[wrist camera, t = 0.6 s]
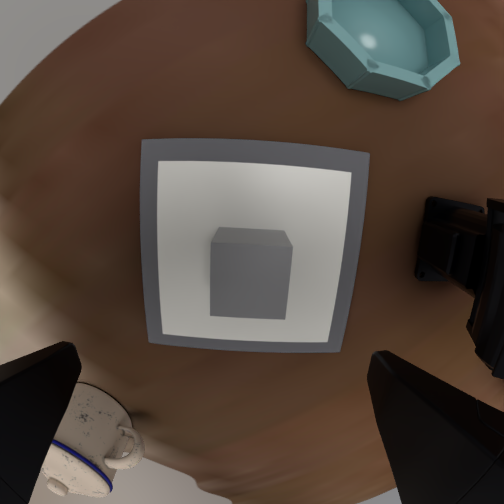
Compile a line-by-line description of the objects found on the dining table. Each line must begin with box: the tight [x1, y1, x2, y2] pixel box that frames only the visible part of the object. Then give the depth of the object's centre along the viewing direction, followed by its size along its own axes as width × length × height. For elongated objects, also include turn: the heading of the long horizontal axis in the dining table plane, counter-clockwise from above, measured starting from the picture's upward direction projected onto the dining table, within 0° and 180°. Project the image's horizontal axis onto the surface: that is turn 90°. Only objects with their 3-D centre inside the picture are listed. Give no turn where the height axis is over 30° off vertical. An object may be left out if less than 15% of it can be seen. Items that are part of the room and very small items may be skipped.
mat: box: [140, 138, 370, 353], centre depth 20 cm, size 15×15×1 cm
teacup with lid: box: [41, 383, 145, 497], centre depth 19 cm, size 12×9×12 cm
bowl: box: [306, 0, 460, 101], centre depth 14 cm, size 10×10×4 cm
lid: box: [157, 161, 351, 342], centre depth 17 cm, size 12×12×5 cm
